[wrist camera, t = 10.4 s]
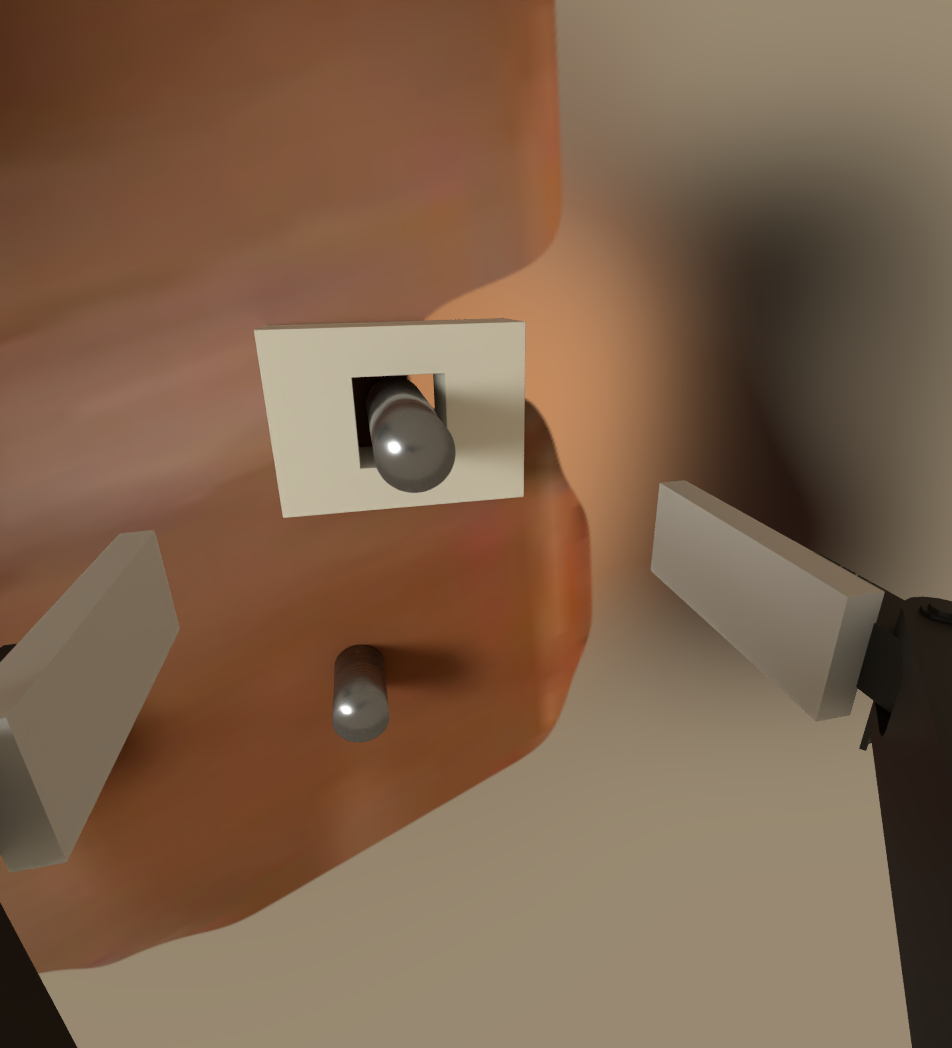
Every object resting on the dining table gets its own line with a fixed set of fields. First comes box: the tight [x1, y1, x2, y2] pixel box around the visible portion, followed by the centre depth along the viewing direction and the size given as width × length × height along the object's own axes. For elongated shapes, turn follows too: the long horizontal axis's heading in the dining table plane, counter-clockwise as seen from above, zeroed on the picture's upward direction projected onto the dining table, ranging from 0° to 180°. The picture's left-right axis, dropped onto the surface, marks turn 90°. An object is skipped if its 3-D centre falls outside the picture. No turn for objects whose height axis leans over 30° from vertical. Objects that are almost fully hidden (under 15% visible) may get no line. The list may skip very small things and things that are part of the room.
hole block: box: [254, 318, 526, 518], centre depth 34 cm, size 10×14×5 cm
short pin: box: [333, 645, 389, 742], centre depth 40 cm, size 4×4×6 cm
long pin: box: [367, 377, 456, 493], centre depth 31 cm, size 4×4×12 cm
